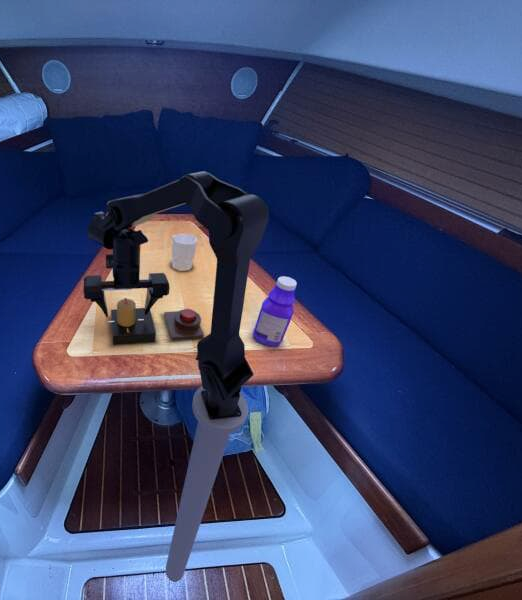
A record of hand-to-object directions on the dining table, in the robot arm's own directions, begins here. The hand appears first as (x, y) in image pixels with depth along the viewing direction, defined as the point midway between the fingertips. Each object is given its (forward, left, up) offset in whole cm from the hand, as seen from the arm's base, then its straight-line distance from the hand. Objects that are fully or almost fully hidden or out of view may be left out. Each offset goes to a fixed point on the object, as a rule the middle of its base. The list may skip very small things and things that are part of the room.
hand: (126, 315), depth 77 cm
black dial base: (0, -1, -5) cm, 5 cm away
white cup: (+31, -21, -5) cm, 38 cm away
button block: (0, -14, -5) cm, 15 cm away
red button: (0, -15, -2) cm, 16 cm away
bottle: (-7, -34, -5) cm, 35 cm away
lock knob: (0, 0, -2) cm, 2 cm away
